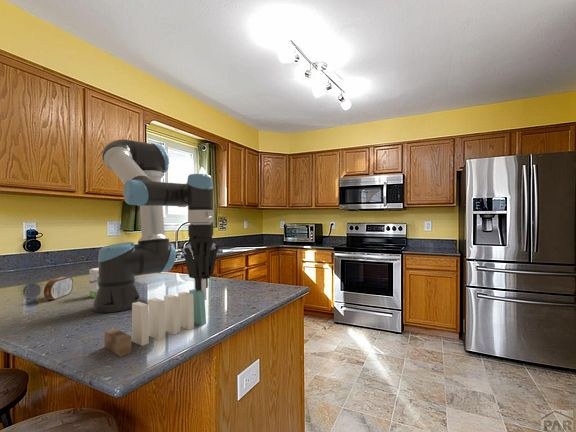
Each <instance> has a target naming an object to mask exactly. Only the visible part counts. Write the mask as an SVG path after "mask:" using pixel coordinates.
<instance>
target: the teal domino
mask: <svg viewBox="0 0 576 432" xmlns="http://www.w3.org/2000/svg"><path fill="white" fill-rule="evenodd" d="M188 293H192V294H193V302H194V324H196V325H199V324H200V325H199V326H202V325H203V326H204V325H205V324H207V315H206V300H205V297H204V291H202V290H196V289H195V288H193V289H189V292H188Z"/></svg>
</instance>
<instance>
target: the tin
mask: <svg viewBox="0 0 576 432" xmlns="http://www.w3.org/2000/svg"><path fill="white" fill-rule="evenodd" d="M73 286H74V279H73V278H72V277H71V276H65V275H64V276H63V275H62V276H59V277H55V278H52V279H51V278H50V279H49V280H48V281H47V282H46V284H45V286H44V289H43V295H44V298H45V299H46V300H47V301H50V300H51V301H53V300H54V301H55V299H56V300H58V299H61V298H63V296H64V297H66V295H67V296H68V294H69V295H70V294H71V292H72V291H73ZM60 297H61V298H60Z"/></svg>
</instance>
